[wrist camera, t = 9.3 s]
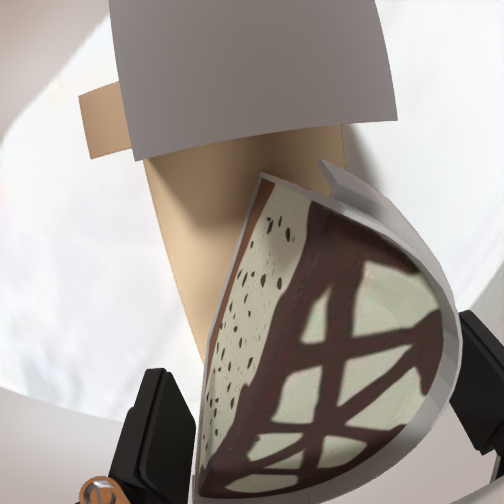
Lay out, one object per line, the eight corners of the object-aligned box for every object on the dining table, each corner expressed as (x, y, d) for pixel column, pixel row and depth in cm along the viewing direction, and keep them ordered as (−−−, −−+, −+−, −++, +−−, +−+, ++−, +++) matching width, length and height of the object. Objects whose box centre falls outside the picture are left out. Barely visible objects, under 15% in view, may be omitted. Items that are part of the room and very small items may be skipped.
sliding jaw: (332, 63, 12) (533, -17, 2) (341, 114, 13) (563, 129, 2) (128, 99, 12) (-86, 81, 2) (138, 150, 13) (-62, 237, 3)
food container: (299, 374, 19) (334, 519, 9) (201, 356, 18) (190, 518, 8) (388, 184, 14) (547, 274, 5) (270, 139, 13) (358, 174, 4)
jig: (319, 44, 12) (368, 4, 7) (347, 380, 21) (373, 445, 15) (132, 76, 12) (76, 53, 7) (222, 403, 21) (222, 474, 15)
